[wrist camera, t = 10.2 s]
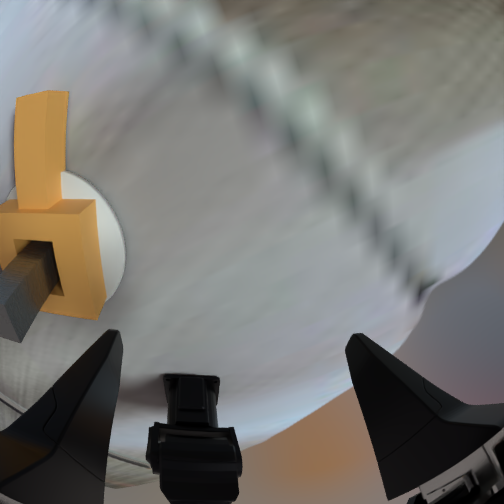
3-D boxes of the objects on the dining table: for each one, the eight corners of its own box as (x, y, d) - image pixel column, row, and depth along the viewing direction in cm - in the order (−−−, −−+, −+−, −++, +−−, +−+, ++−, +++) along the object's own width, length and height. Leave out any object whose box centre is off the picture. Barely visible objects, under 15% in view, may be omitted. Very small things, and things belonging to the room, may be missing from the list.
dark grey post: (68, 266, 19) (20, 343, 11) (47, 263, 18) (-4, 335, 10) (63, 233, 17) (3, 304, 10) (41, 231, 17) (-21, 297, 9)
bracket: (132, 312, 23) (124, 342, 19) (24, 297, 20) (8, 320, 17) (131, 86, 14) (112, 80, 11) (-2, 107, 12) (-30, 112, 8)
